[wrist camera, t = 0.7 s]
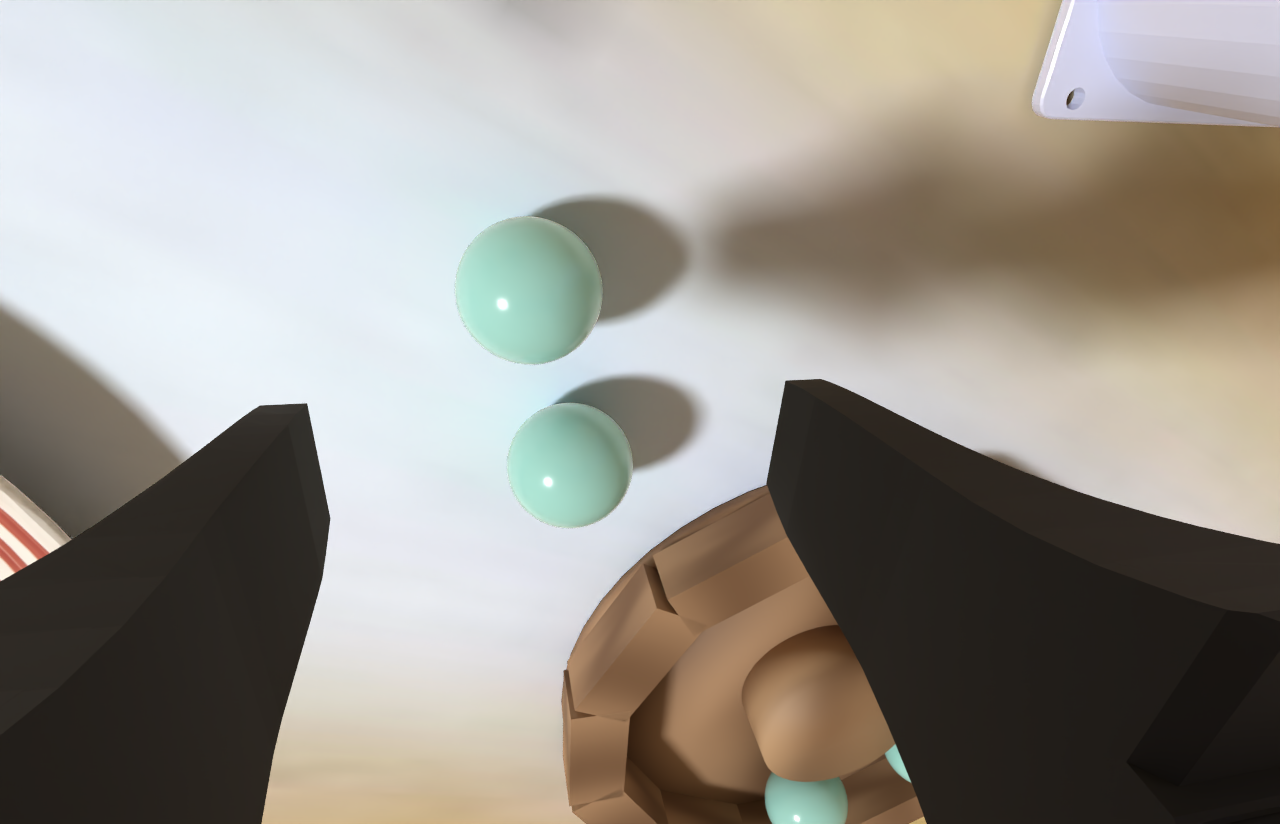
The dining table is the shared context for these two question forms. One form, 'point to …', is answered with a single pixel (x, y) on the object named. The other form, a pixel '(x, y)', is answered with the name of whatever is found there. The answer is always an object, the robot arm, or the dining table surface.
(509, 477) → the bead
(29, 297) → the dining table surface
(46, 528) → the dinner plate
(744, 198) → the dining table surface
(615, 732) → the ring tray
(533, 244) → the bead
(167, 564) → the robot arm
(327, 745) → the dining table surface
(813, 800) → the seated bead
